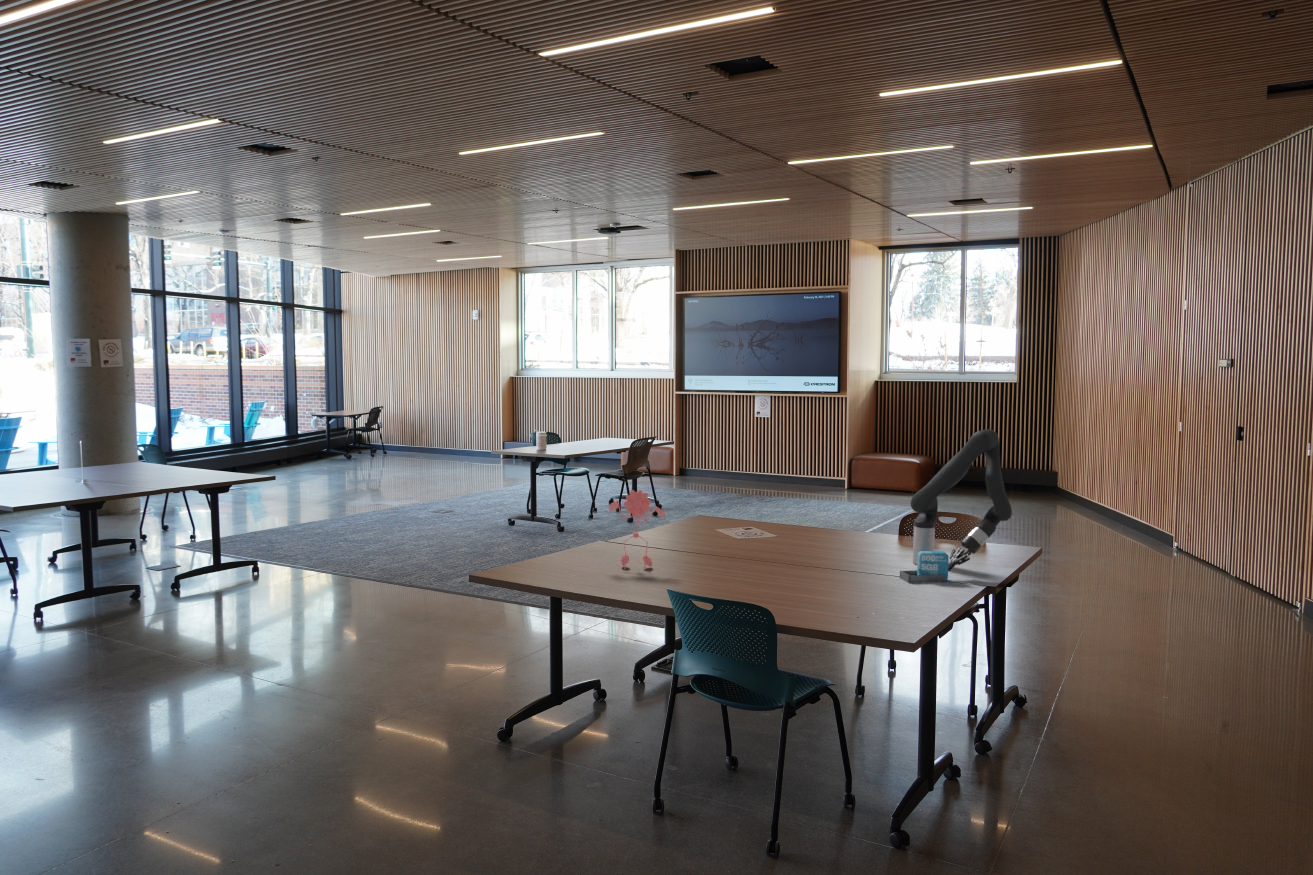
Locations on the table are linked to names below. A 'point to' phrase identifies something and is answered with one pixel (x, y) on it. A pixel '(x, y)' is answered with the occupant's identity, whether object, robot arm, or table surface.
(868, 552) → the table surface
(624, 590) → the table surface
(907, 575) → the keeper bracket
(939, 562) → the data package
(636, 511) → the pink fuzzy puppet
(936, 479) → the robot arm
